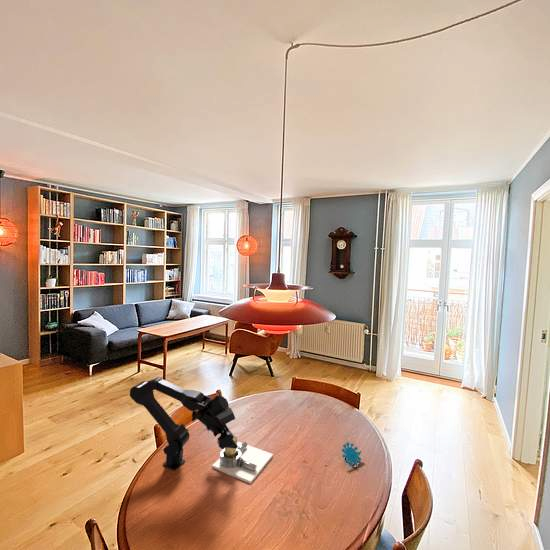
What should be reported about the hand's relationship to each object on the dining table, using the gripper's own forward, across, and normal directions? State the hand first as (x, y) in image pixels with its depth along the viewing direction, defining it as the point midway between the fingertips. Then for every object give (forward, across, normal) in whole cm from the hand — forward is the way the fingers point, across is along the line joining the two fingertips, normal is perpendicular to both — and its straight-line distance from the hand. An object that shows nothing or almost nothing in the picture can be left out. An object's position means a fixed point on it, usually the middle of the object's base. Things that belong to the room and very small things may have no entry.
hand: (234, 441), depth 135 cm
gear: (+43, -15, -29) cm, 54 cm away
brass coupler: (+5, 0, +7) cm, 9 cm away
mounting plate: (+10, 0, +3) cm, 11 cm away
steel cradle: (+9, 0, +3) cm, 10 cm away
